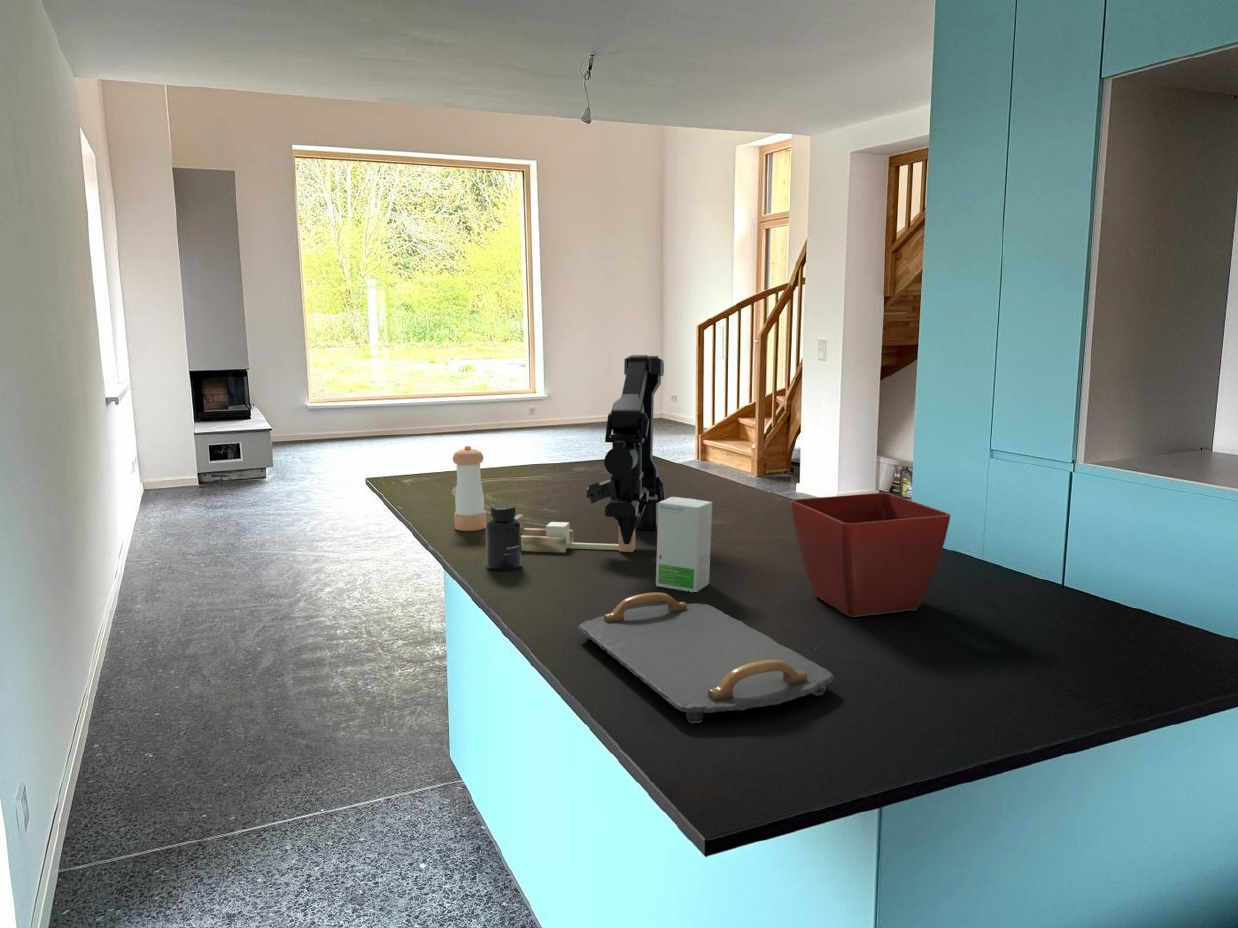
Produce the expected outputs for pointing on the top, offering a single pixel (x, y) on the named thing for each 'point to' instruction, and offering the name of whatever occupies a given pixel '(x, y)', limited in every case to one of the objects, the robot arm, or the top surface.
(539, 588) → the top surface
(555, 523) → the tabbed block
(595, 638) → the serving board
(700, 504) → the skincare box
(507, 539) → the supplement bottle
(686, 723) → the top surface
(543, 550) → the oak lane
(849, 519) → the plant pot
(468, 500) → the pepper shaker
